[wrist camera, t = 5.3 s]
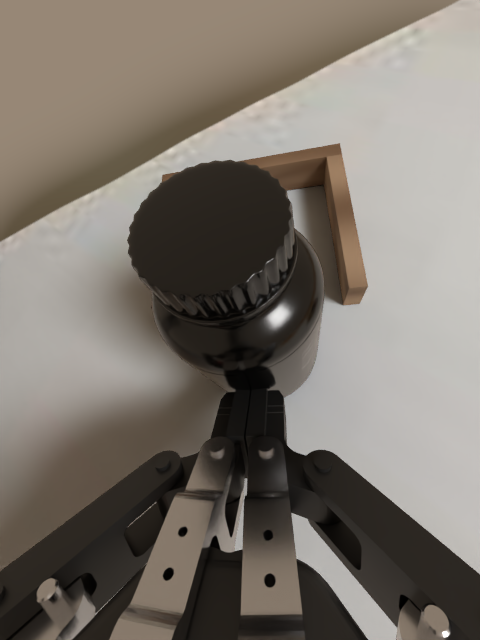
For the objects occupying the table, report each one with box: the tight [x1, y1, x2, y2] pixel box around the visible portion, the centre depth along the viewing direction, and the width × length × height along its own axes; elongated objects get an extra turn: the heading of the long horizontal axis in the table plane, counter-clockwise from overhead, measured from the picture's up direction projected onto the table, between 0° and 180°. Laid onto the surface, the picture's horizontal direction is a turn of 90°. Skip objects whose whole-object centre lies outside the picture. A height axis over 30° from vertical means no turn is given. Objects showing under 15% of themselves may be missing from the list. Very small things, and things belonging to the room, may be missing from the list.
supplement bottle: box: [127, 160, 324, 397], centre depth 14 cm, size 7×7×12 cm
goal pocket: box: [151, 143, 368, 308], centre depth 21 cm, size 11×13×2 cm
